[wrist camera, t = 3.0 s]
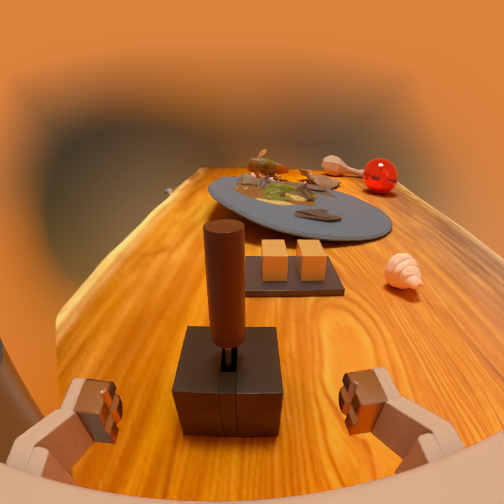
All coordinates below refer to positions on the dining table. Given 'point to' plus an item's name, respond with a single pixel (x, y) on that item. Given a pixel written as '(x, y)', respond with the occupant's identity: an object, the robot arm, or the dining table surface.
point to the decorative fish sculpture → (261, 163)
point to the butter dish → (291, 271)
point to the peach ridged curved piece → (403, 272)
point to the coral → (320, 180)
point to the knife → (225, 283)
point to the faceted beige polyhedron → (338, 167)
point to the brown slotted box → (229, 385)
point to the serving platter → (300, 208)
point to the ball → (380, 175)
